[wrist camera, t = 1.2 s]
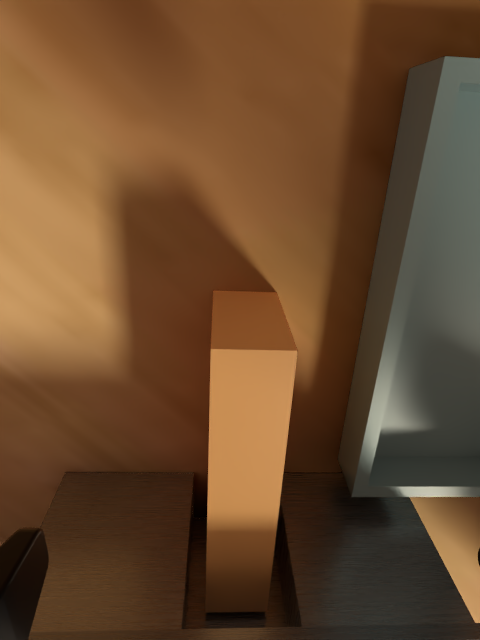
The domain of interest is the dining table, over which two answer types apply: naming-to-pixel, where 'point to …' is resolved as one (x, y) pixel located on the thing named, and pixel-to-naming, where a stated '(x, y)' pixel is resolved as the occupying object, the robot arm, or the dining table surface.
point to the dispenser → (286, 578)
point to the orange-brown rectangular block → (246, 445)
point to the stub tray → (423, 303)
